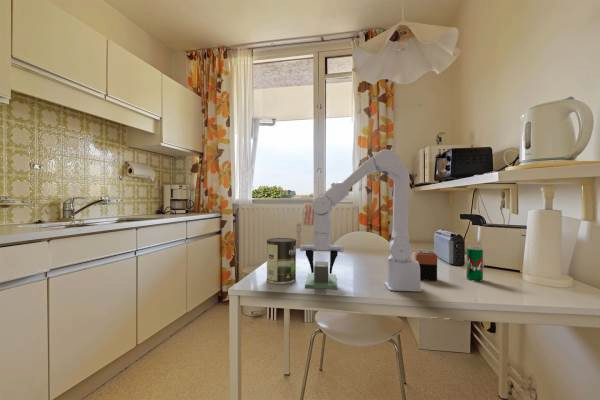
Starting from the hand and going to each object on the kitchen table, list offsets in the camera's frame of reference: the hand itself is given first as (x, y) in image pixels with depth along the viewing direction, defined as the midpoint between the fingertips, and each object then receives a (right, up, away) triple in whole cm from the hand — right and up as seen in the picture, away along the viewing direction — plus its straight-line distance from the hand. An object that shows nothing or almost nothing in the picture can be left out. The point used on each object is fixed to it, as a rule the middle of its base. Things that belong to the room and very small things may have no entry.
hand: (321, 272), depth 97 cm
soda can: (+55, -4, +4) cm, 55 cm away
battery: (+38, -4, +5) cm, 38 cm away
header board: (0, -3, 0) cm, 3 cm away
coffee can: (-14, -3, +2) cm, 14 cm away
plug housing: (0, -2, 0) cm, 2 cm away
